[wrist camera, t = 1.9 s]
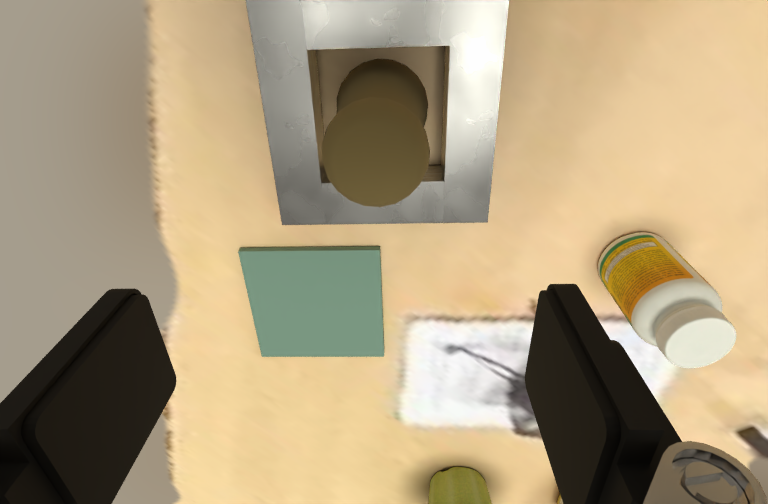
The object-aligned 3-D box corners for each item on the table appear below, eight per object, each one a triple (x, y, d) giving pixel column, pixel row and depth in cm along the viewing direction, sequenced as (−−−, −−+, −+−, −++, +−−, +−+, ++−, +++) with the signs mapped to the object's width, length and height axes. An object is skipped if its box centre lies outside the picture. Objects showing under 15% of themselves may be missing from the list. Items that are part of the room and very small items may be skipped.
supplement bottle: (683, 243, 34) (772, 325, 26) (639, 296, 37) (708, 386, 29) (622, 220, 34) (694, 297, 25) (581, 276, 36) (635, 363, 28)
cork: (329, 141, 31) (299, 211, 22) (344, 48, 28) (317, 82, 19) (415, 160, 32) (421, 236, 22) (439, 71, 29) (458, 115, 19)
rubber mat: (240, 247, 36) (238, 251, 35) (380, 246, 35) (379, 250, 35) (263, 351, 41) (261, 356, 41) (384, 351, 41) (384, 356, 40)
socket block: (259, -11, 27) (243, -11, 24) (500, -20, 26) (511, -20, 23) (291, 206, 34) (282, 224, 31) (480, 203, 33) (487, 222, 31)
